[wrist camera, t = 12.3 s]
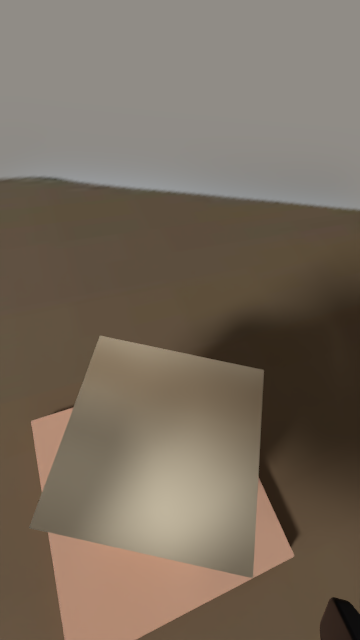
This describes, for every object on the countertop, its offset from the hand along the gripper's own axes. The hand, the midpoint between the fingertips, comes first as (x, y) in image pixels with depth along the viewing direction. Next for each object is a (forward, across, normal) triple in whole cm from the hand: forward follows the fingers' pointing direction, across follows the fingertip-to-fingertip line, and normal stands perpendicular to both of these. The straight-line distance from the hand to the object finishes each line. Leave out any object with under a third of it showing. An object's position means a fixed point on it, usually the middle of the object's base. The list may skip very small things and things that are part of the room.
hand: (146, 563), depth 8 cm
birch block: (+9, 0, +5) cm, 10 cm away
